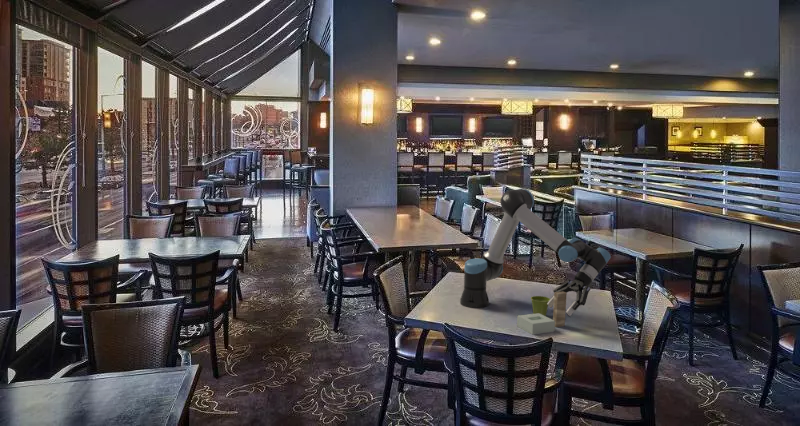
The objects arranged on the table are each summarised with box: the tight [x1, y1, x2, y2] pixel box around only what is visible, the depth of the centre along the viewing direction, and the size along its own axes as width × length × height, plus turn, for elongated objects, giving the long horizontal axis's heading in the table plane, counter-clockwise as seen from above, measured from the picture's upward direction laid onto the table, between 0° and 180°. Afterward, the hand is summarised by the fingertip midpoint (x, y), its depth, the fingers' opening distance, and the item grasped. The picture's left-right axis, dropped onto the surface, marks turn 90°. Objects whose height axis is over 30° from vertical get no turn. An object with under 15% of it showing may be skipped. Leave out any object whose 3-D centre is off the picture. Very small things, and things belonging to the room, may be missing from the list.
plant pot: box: [530, 295, 551, 317], centre depth 265 cm, size 9×9×9 cm
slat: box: [552, 292, 568, 328], centre depth 249 cm, size 2×5×16 cm, turn 112°
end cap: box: [516, 313, 556, 335], centre depth 245 cm, size 12×12×5 cm
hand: (558, 309), depth 249 cm, fingers open, 13 cm apart
